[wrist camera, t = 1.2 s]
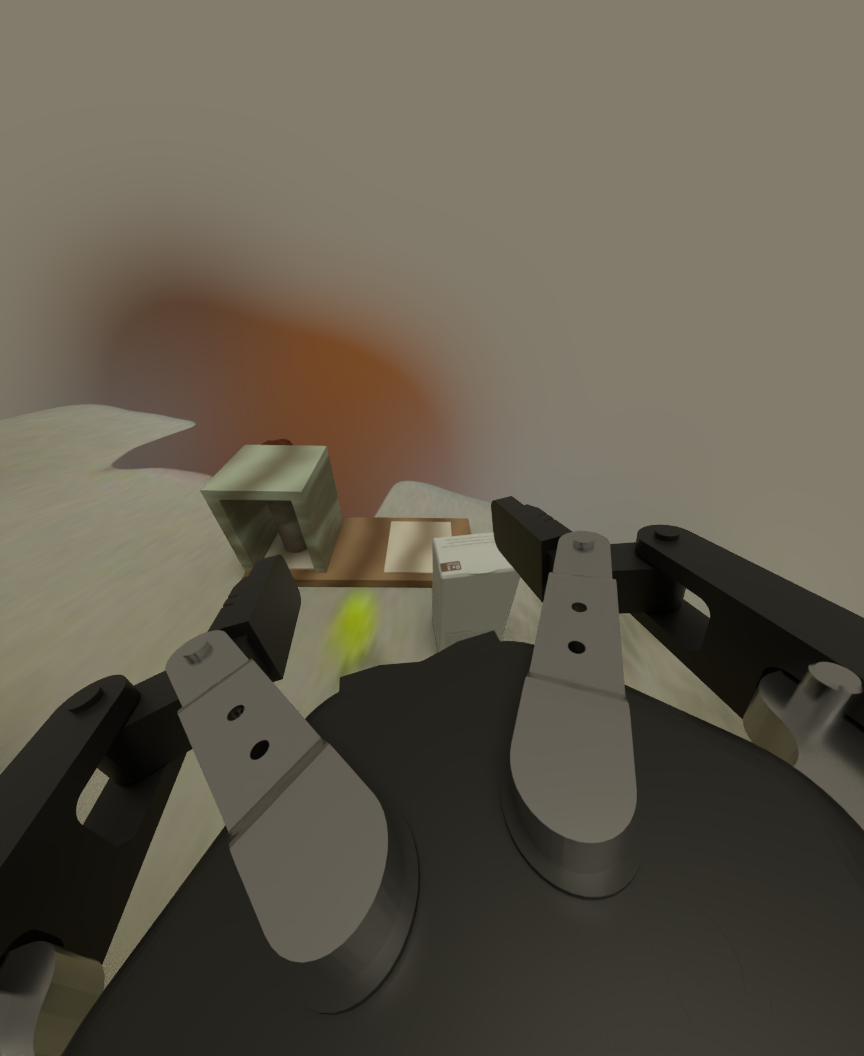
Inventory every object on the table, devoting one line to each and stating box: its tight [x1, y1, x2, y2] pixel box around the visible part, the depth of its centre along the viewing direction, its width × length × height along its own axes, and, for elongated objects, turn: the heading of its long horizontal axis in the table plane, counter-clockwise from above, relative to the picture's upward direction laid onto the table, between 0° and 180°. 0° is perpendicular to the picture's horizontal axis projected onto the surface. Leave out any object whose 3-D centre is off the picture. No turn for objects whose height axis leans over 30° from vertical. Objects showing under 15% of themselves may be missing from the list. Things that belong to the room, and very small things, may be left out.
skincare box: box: [432, 532, 520, 652], centre depth 27 cm, size 6×4×12 cm
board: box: [200, 445, 471, 587], centre depth 35 cm, size 26×11×12 cm, turn 90°
